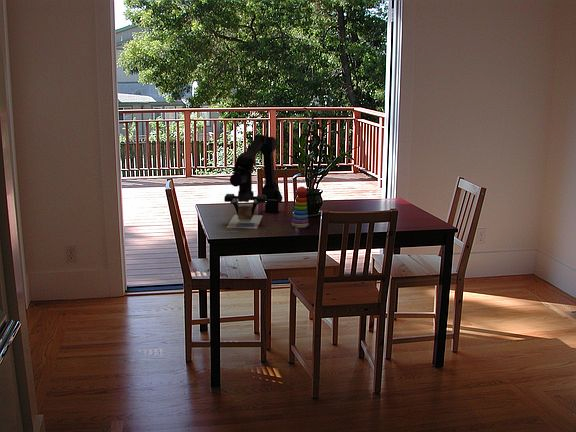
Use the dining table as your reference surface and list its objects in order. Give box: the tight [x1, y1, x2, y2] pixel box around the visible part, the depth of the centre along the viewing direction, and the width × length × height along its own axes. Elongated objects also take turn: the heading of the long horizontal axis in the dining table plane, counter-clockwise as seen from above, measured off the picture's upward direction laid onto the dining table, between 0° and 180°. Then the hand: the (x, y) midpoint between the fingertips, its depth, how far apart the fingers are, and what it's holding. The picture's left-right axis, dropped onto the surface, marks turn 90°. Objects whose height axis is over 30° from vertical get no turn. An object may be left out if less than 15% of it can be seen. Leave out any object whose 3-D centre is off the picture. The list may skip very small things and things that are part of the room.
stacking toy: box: [291, 186, 309, 229], centre depth 318 cm, size 8×8×19 cm
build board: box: [225, 214, 263, 229], centre depth 325 cm, size 14×27×1 cm, turn 176°
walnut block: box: [238, 205, 253, 220], centre depth 316 cm, size 6×6×5 cm
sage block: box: [240, 219, 252, 222], centre depth 325 cm, size 5×5×5 cm
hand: (245, 216), depth 316 cm, fingers closed on walnut block, 6 cm apart
